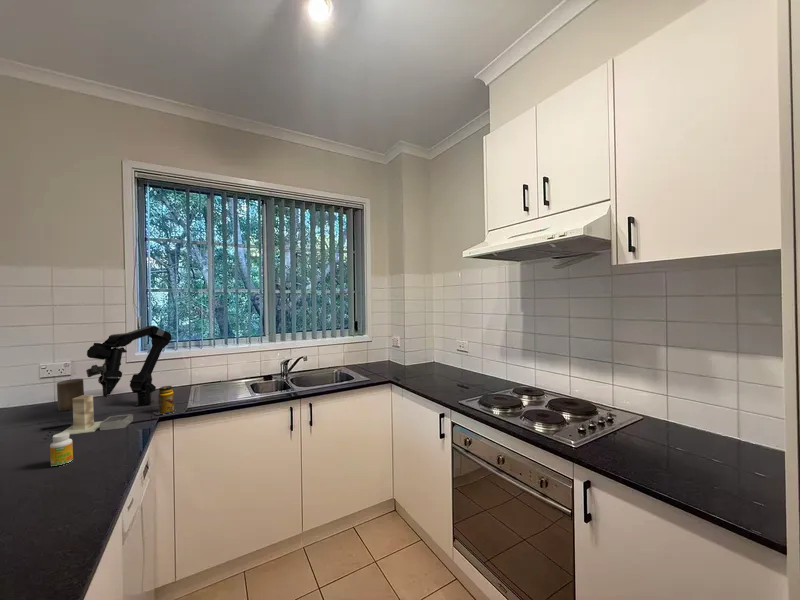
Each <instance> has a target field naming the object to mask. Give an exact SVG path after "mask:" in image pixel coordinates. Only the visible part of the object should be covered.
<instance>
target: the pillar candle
mask: <svg viewBox="0 0 800 600" xmlns="http://www.w3.org/2000/svg"><path fill="white" fill-rule="evenodd" d="M84 385H85V384H84V379H83V378H72V379H71V378H69V379H66V380H61V381H58V382H56V391H57V392H56V395H57V396H56V397H57V411H58V410H60V411H59V412H68V411H67V410H69V411H73V398H76V397H79V396H82V395H85V392H84V391H85V390H84Z"/></svg>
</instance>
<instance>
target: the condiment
mask: <svg viewBox="0 0 800 600" xmlns="http://www.w3.org/2000/svg"><path fill="white" fill-rule="evenodd" d="M173 388H174V387H173V385H164V386H161V387H159V388H158V390H159V391H158V411H159V412H160V413H165V412H170V411H173V410H174V409H175V397H174V396H175V393H174V391H173V390H174V389H173Z"/></svg>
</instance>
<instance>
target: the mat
mask: <svg viewBox="0 0 800 600" xmlns="http://www.w3.org/2000/svg"><path fill="white" fill-rule="evenodd" d="M102 421H103V420H102ZM102 421H101V420H100V421H94V425H93V426H91V427H89V428H87V429H82V430H74V425H71V426H70V427H68V428H66V429H64V430H63V431H61V432H60V433H64V432H68V433H69V436H70V435H79V434H86V433H94V432H95V431H97V430H98V429H100V423H101V422H102Z"/></svg>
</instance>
